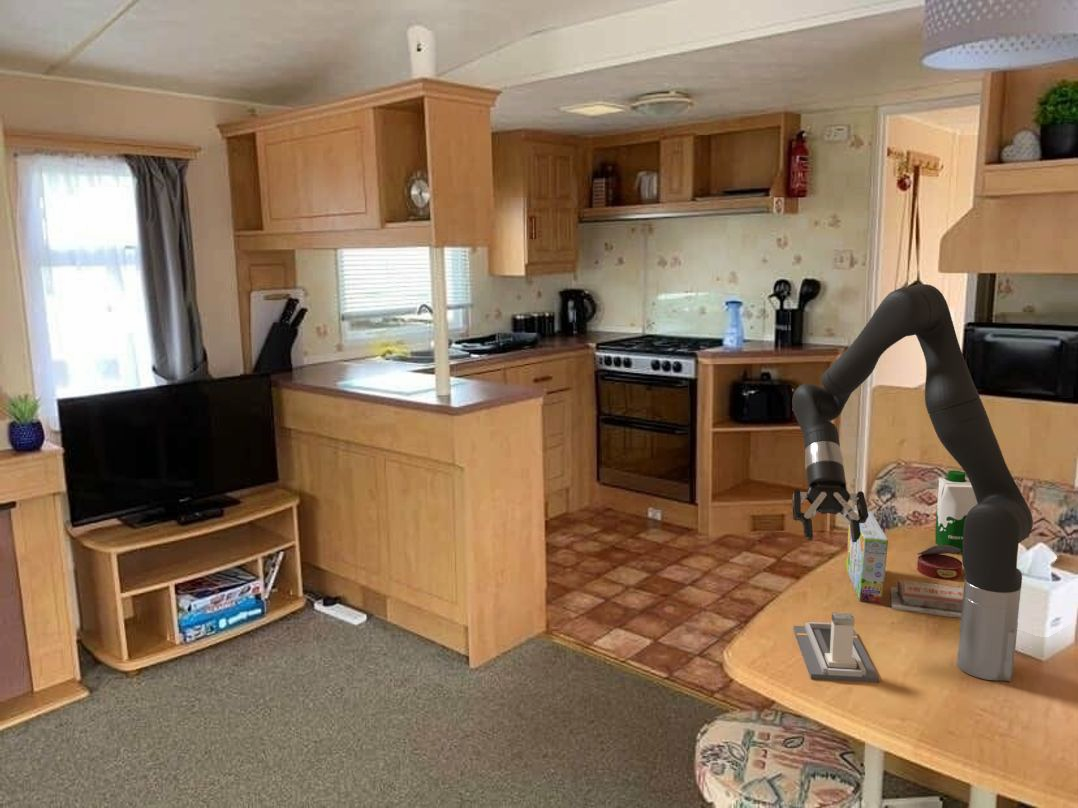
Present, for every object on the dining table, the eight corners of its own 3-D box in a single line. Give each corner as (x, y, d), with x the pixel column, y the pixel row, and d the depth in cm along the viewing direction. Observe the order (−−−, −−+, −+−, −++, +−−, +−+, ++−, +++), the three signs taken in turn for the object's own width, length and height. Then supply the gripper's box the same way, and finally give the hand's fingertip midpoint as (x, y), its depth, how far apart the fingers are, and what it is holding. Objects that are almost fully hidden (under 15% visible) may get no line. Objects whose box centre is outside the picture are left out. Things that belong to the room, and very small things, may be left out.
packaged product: (979, 584, 185) (985, 602, 176) (977, 604, 186) (983, 623, 177) (891, 573, 191) (892, 590, 182) (890, 593, 192) (891, 611, 183)
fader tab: (851, 659, 158) (854, 612, 156) (856, 668, 155) (859, 620, 153) (824, 657, 159) (827, 610, 157) (828, 667, 155) (831, 619, 154)
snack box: (885, 603, 186) (889, 539, 183) (858, 601, 187) (862, 538, 184) (867, 568, 206) (871, 509, 203) (844, 566, 207) (847, 508, 204)
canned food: (920, 592, 202) (901, 555, 203) (932, 576, 210) (914, 540, 210) (966, 583, 195) (946, 544, 195) (977, 566, 202) (958, 529, 202)
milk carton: (965, 543, 222) (971, 470, 218) (977, 555, 213) (984, 480, 209) (930, 541, 223) (936, 469, 220) (940, 553, 215) (946, 479, 211)
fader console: (853, 632, 172) (853, 623, 172) (878, 682, 152) (879, 672, 152) (793, 630, 174) (793, 621, 173) (810, 678, 154) (811, 669, 154)
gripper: (792, 458, 171) (798, 530, 162) (864, 460, 169) (874, 533, 160) (786, 475, 177) (792, 546, 168) (856, 477, 175) (866, 549, 167)
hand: (832, 539), depth 164 cm, fingers open, 8 cm apart
